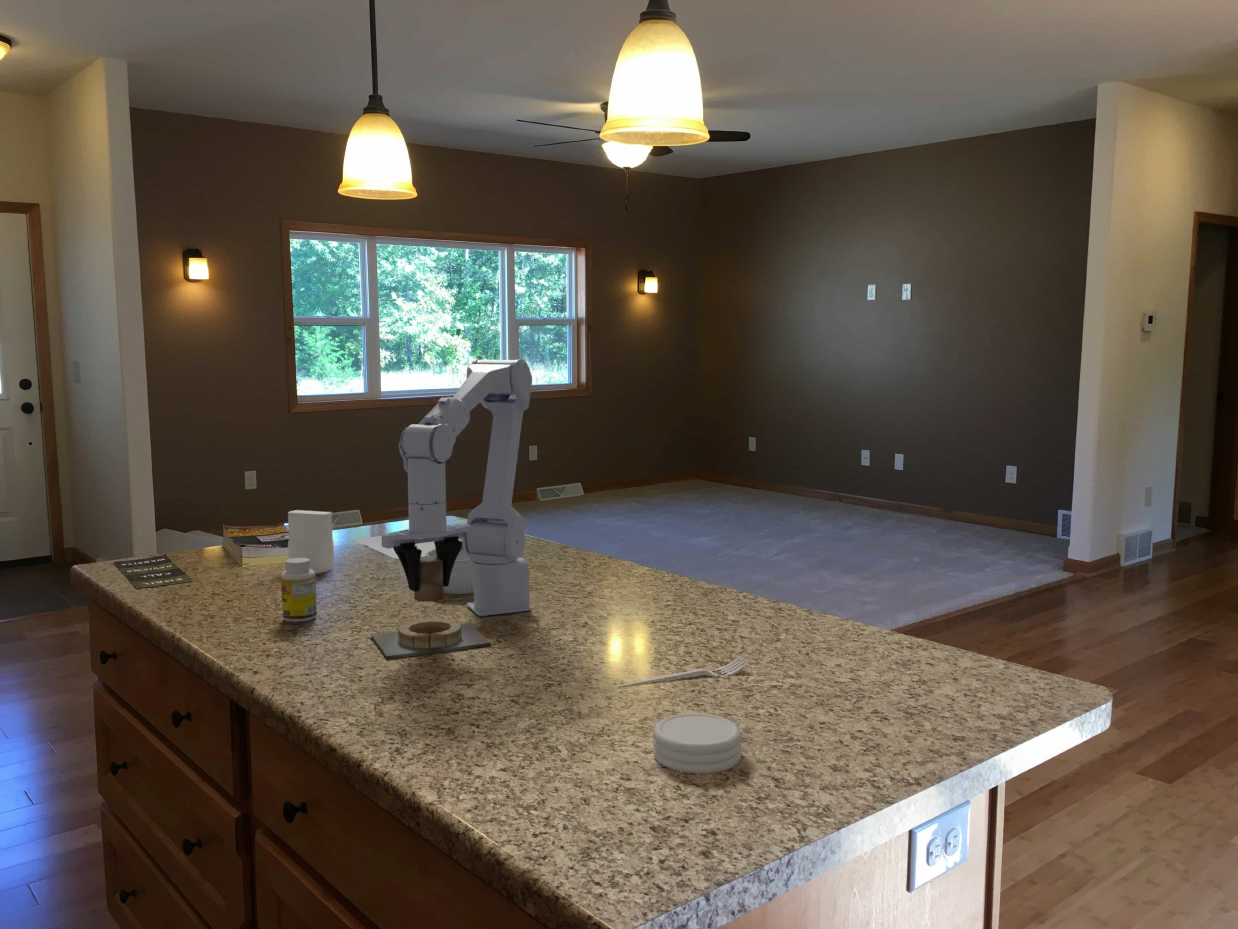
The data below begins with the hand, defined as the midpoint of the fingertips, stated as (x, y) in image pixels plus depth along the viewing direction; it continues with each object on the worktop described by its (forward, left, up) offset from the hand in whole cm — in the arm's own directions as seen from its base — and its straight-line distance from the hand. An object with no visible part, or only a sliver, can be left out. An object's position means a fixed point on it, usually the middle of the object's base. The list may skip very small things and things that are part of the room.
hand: (429, 587), depth 152 cm
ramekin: (-14, -32, -9) cm, 36 cm away
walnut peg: (0, 0, -2) cm, 2 cm away
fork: (-28, +31, -9) cm, 43 cm away
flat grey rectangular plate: (0, 0, -9) cm, 9 cm away
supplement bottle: (+17, -22, -9) cm, 29 cm away
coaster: (-17, +55, -9) cm, 58 cm away
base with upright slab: (+10, -60, -9) cm, 61 cm away
